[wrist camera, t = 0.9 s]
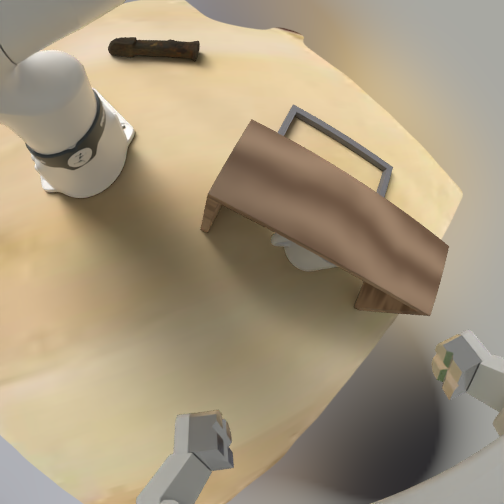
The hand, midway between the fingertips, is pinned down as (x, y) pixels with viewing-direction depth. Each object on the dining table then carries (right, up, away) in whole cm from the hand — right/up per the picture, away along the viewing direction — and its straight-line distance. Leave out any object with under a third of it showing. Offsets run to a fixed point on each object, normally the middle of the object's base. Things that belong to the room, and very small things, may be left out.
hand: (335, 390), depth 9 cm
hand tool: (-23, +44, +40) cm, 64 cm away
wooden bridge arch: (+5, +6, +41) cm, 41 cm away
